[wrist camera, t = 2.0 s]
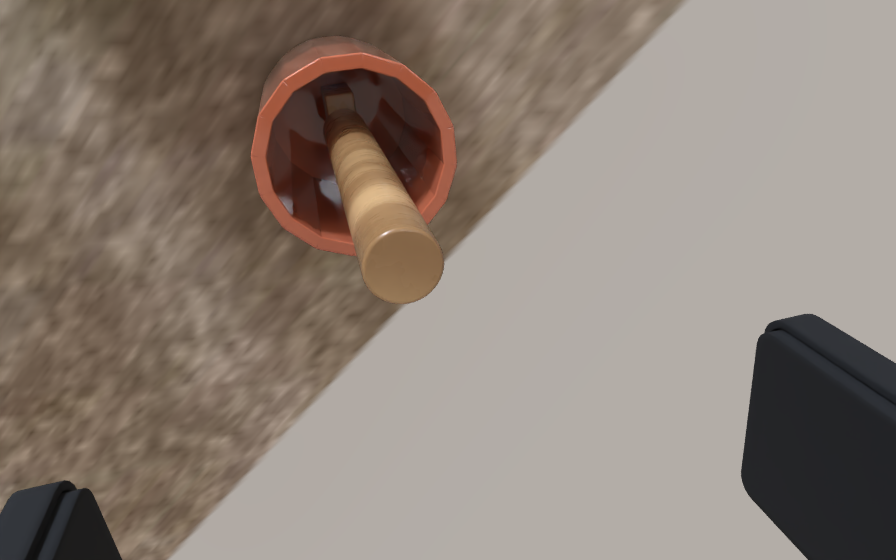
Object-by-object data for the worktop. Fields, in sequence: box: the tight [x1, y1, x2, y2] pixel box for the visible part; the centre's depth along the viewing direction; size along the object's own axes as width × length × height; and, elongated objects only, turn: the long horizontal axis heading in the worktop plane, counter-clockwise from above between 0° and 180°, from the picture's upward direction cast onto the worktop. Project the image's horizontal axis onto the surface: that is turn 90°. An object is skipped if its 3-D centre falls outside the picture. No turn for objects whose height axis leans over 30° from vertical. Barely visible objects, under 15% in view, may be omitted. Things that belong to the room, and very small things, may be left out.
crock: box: [251, 35, 457, 256], centre depth 26 cm, size 7×7×9 cm
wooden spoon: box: [321, 83, 444, 304], centre depth 22 cm, size 3×2×18 cm, turn 6°
